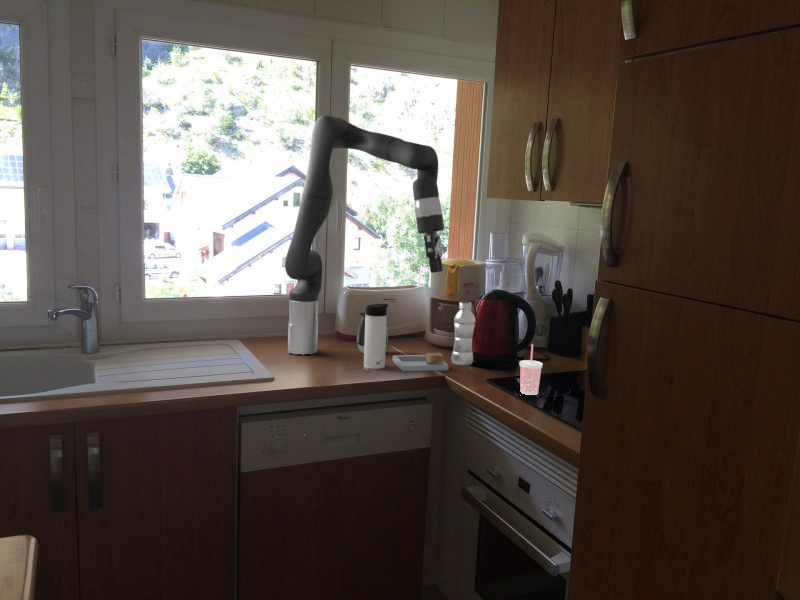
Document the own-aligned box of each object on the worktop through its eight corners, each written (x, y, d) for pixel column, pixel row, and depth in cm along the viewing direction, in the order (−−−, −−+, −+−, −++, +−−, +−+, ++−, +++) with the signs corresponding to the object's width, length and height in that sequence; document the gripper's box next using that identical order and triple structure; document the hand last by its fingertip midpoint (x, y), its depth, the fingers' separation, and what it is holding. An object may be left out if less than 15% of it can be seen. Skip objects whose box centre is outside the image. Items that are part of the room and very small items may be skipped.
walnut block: (429, 369, 199) (430, 356, 198) (426, 365, 203) (426, 352, 202) (442, 368, 200) (443, 355, 199) (438, 365, 204) (439, 352, 203)
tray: (402, 374, 196) (402, 366, 195) (392, 363, 208) (392, 355, 208) (448, 373, 199) (448, 365, 199) (435, 362, 211) (436, 354, 211)
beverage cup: (537, 392, 183) (541, 342, 180) (542, 399, 177) (546, 347, 174) (515, 391, 182) (518, 341, 180) (519, 398, 176) (523, 346, 174)
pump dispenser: (349, 352, 220) (350, 307, 218) (373, 349, 227) (375, 304, 225) (369, 359, 212) (370, 311, 210) (393, 355, 219) (395, 309, 217)
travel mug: (383, 373, 196) (385, 305, 193) (361, 371, 197) (363, 304, 194) (387, 368, 202) (390, 302, 199) (366, 366, 203) (368, 301, 200)
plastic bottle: (452, 362, 212) (455, 300, 209) (473, 364, 211) (477, 301, 208) (449, 367, 206) (453, 303, 203) (471, 369, 205) (475, 304, 202)
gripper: (420, 218, 197) (427, 273, 198) (411, 215, 183) (419, 274, 184) (445, 214, 196) (453, 269, 196) (438, 211, 182) (446, 270, 183)
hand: (436, 272), depth 190 cm, fingers open, 8 cm apart
